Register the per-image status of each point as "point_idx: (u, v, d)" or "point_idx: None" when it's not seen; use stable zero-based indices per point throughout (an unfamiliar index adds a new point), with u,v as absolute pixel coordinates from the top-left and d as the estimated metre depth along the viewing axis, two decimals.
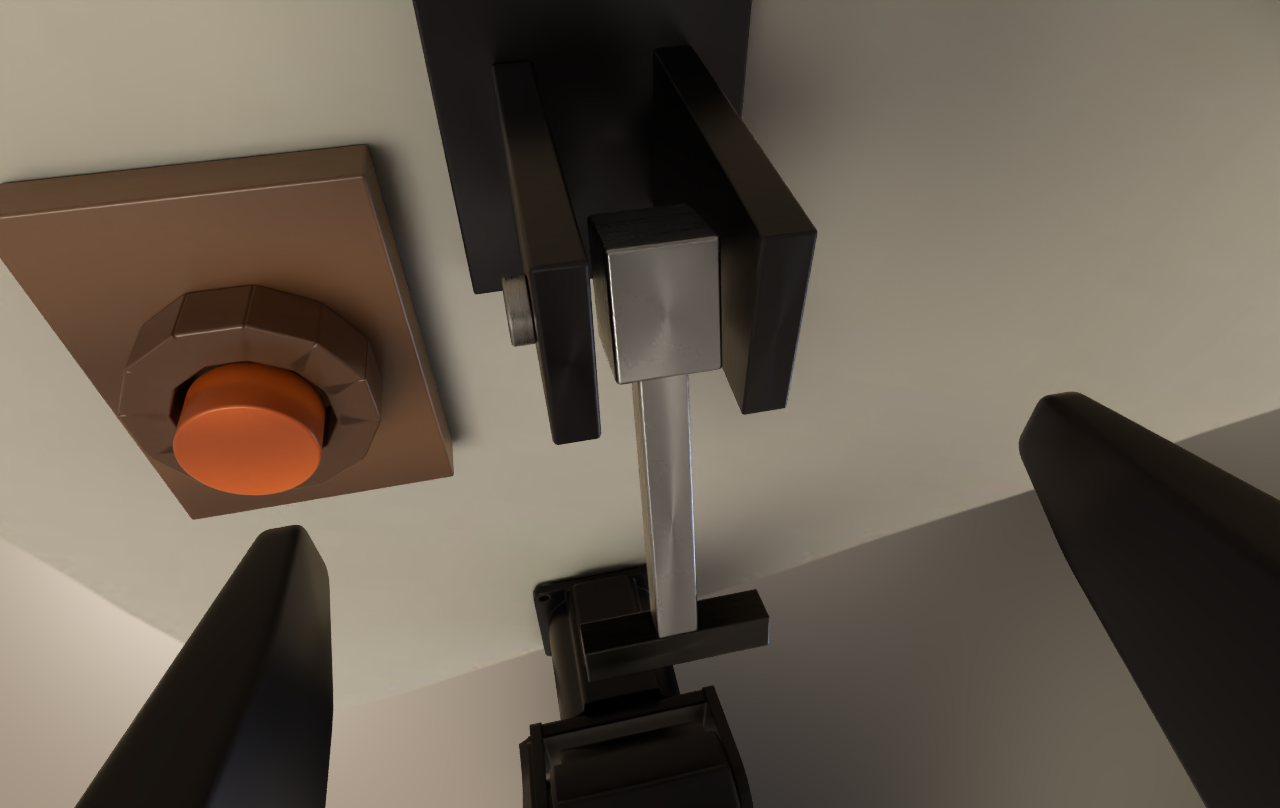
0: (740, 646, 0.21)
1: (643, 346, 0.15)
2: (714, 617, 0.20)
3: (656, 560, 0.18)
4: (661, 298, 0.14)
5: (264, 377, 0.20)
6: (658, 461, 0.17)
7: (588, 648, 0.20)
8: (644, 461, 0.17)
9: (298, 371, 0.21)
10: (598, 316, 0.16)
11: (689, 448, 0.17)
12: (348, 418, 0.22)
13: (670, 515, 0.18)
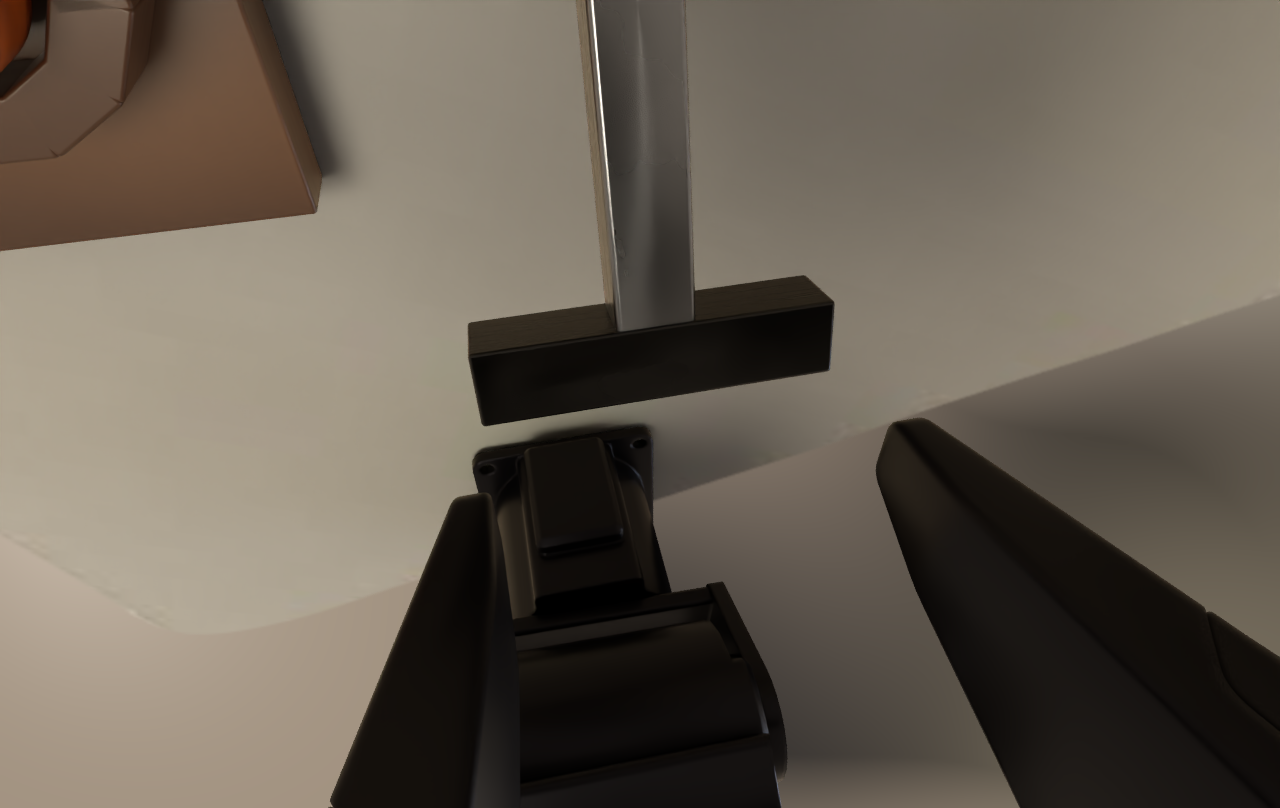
0: (777, 369, 0.11)
1: None
2: (727, 306, 0.11)
3: (605, 118, 0.09)
4: None
5: None
6: None
7: (477, 348, 0.10)
8: None
9: None
10: None
11: None
12: None
13: None
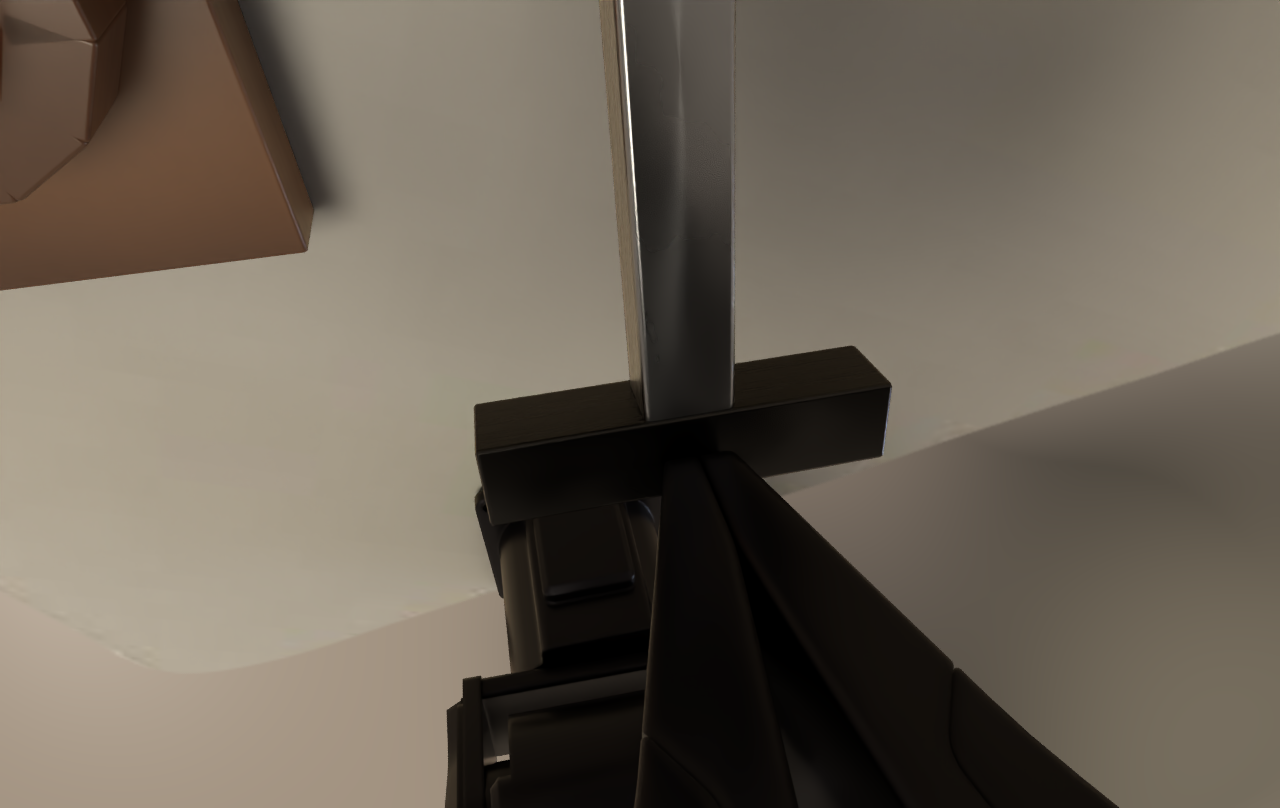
0: (823, 456, 0.09)
1: None
2: (770, 387, 0.09)
3: (638, 189, 0.07)
4: None
5: None
6: None
7: (485, 442, 0.09)
8: None
9: None
10: None
11: None
12: (22, 26, 0.11)
13: (673, 36, 0.07)
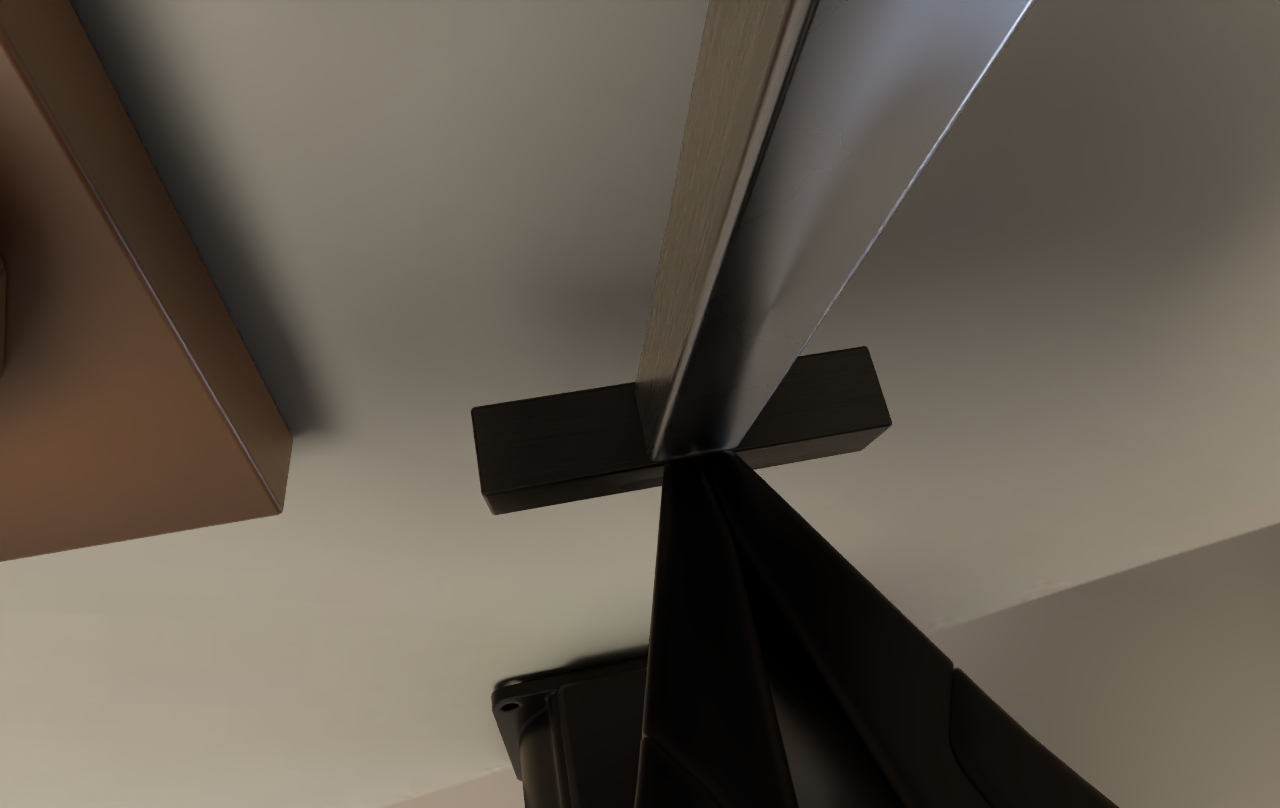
0: (809, 457, 0.10)
1: None
2: (775, 415, 0.09)
3: (688, 375, 0.06)
4: None
5: None
6: (813, 139, 0.04)
7: (491, 479, 0.09)
8: (752, 132, 0.04)
9: None
10: None
11: (973, 91, 0.04)
12: None
13: (774, 292, 0.05)
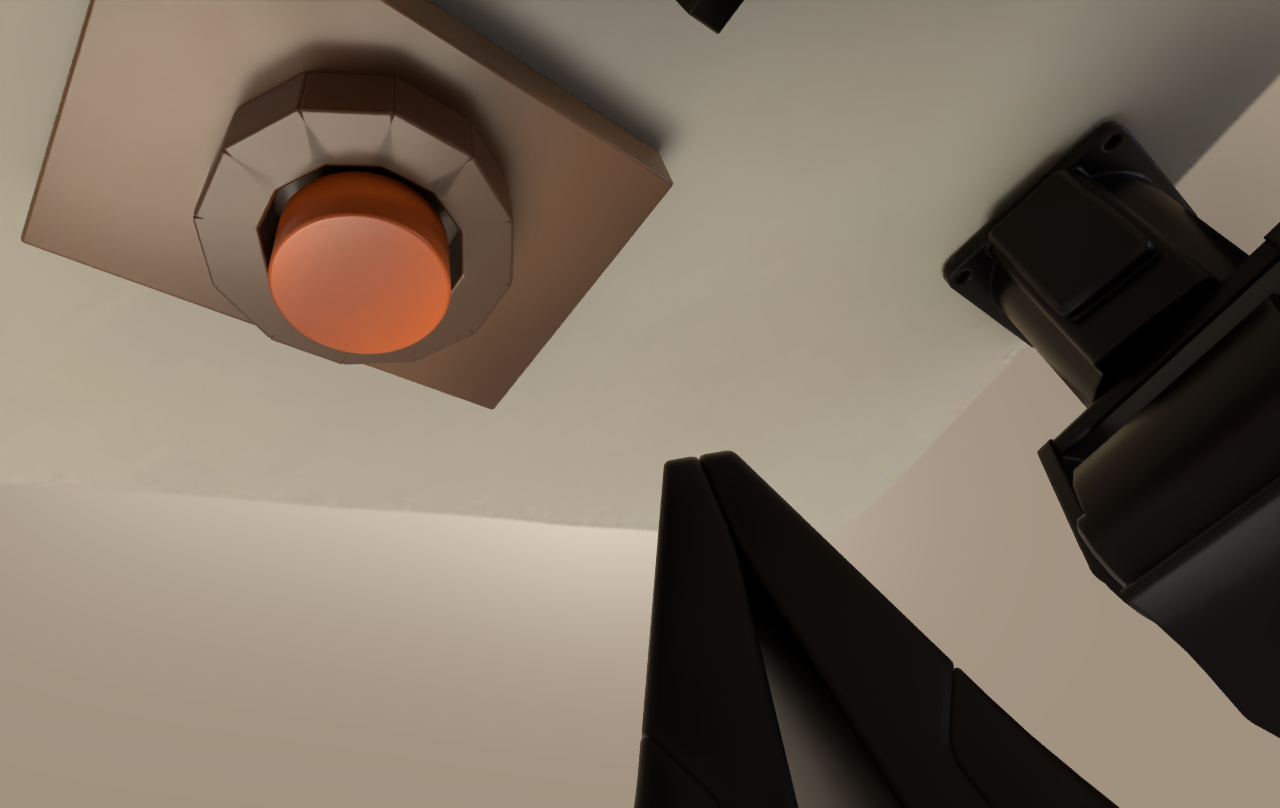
0: None
1: None
2: None
3: None
4: None
5: (305, 195, 0.15)
6: None
7: (687, 2, 0.14)
8: None
9: (328, 162, 0.15)
10: None
11: None
12: (440, 181, 0.16)
13: None
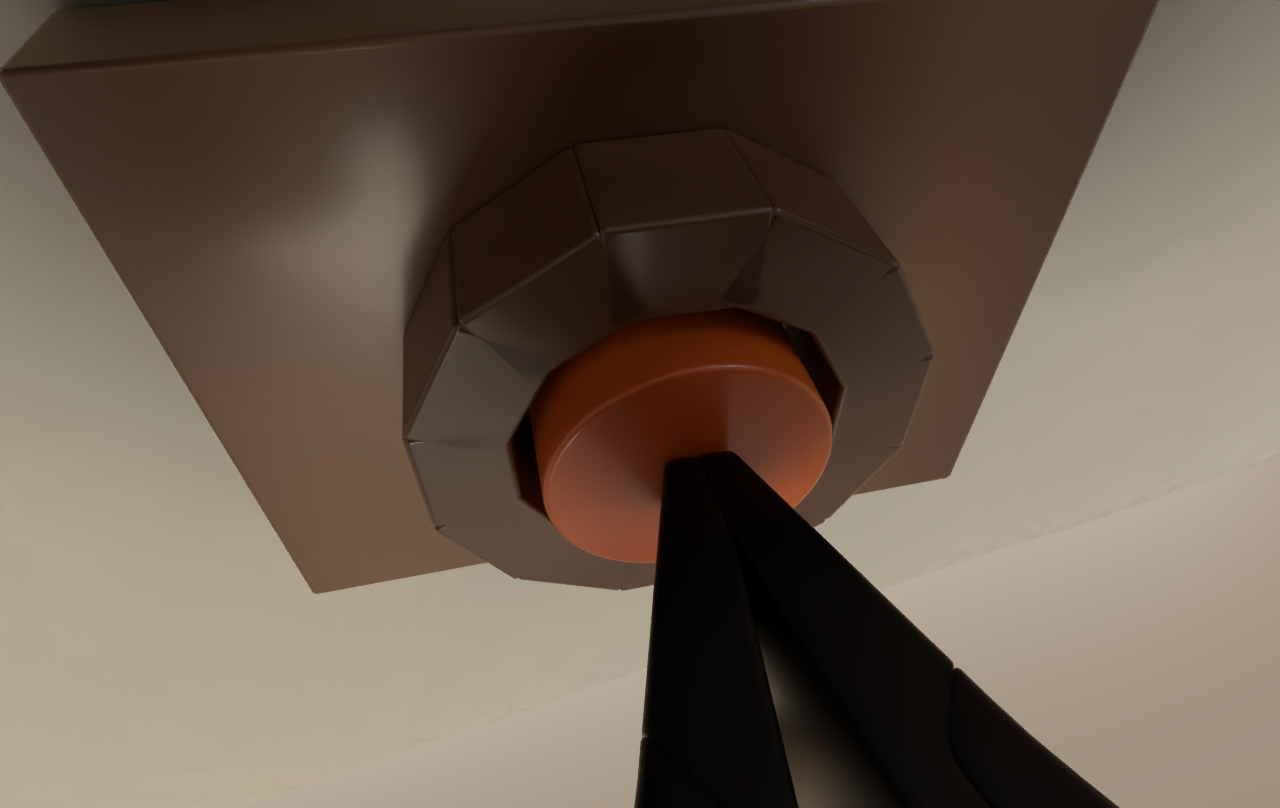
0: None
1: None
2: None
3: None
4: None
5: None
6: None
7: None
8: None
9: (551, 366, 0.08)
10: None
11: None
12: (738, 285, 0.08)
13: None
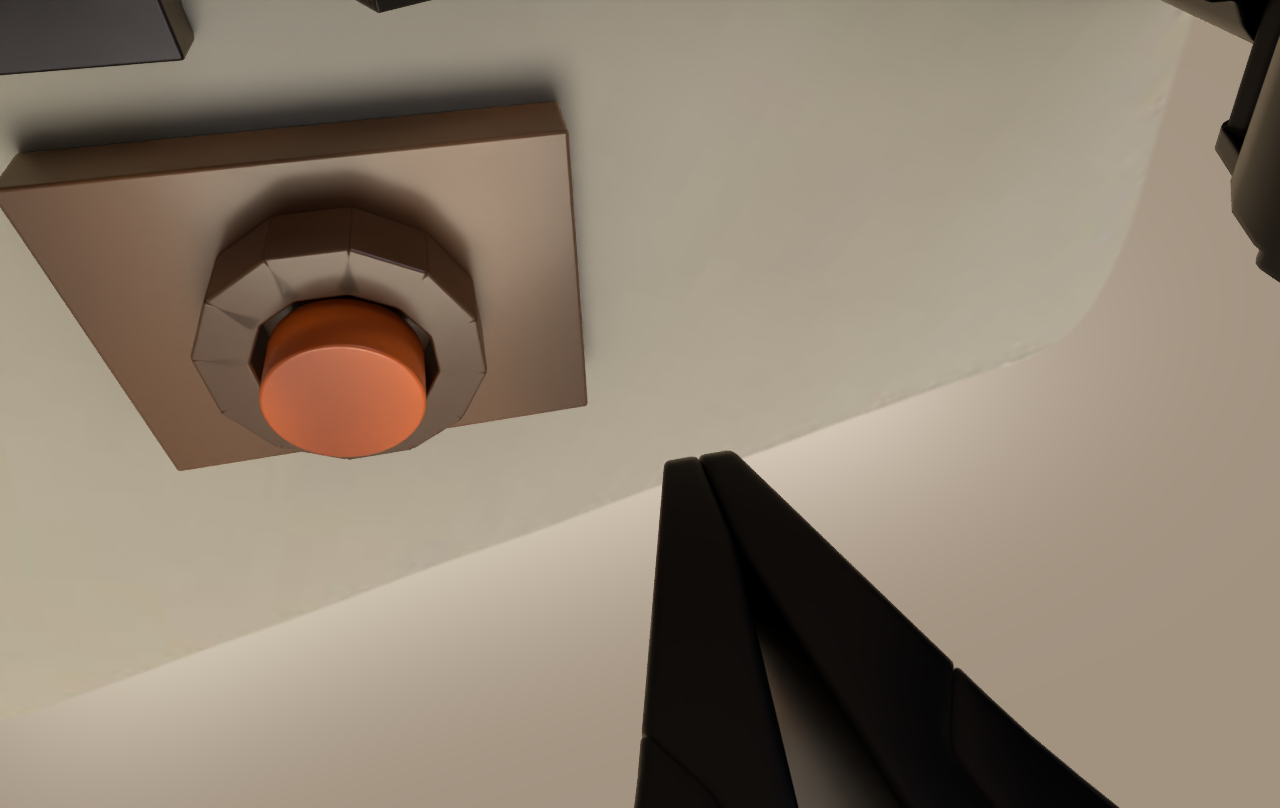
0: None
1: None
2: None
3: None
4: None
5: None
6: None
7: (371, 3, 0.13)
8: None
9: (259, 323, 0.17)
10: None
11: None
12: (344, 284, 0.17)
13: None
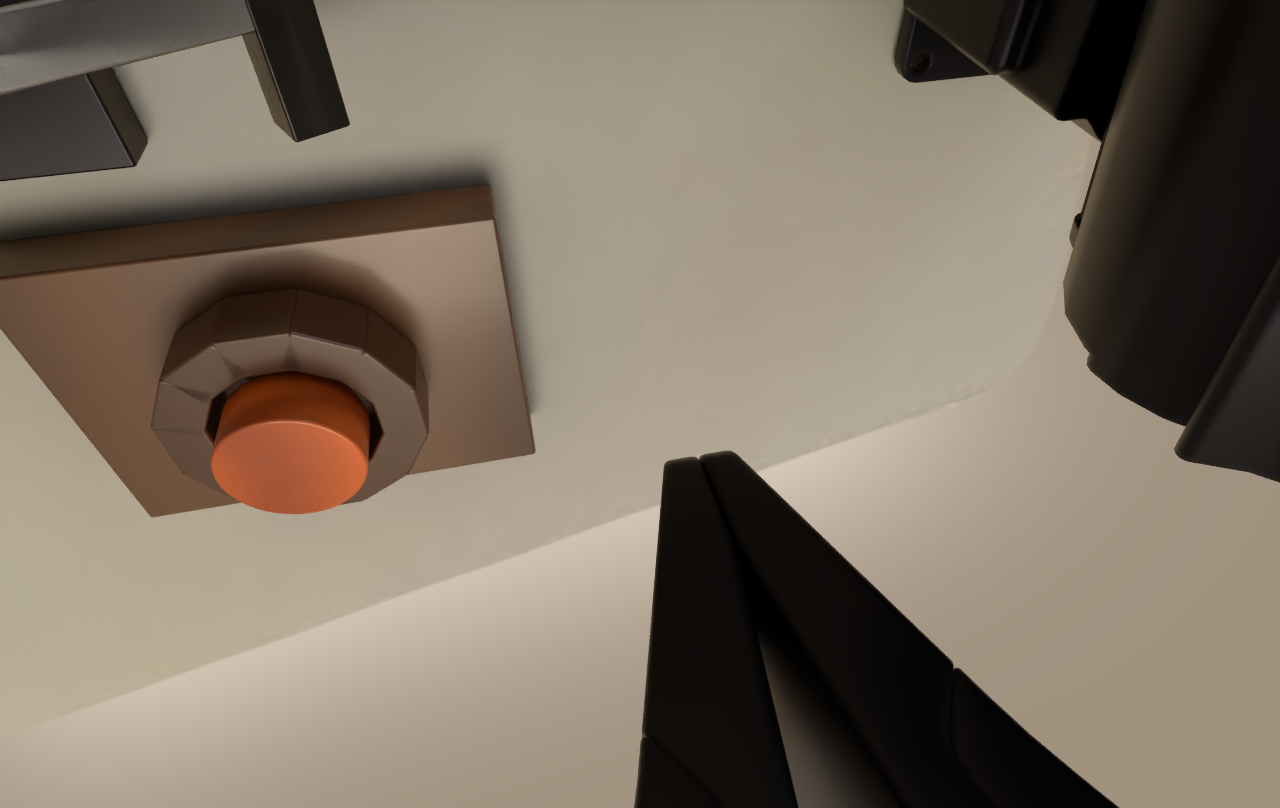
0: None
1: None
2: None
3: (78, 70, 0.12)
4: None
5: None
6: None
7: (290, 133, 0.14)
8: None
9: (211, 396, 0.19)
10: None
11: None
12: (287, 361, 0.18)
13: None
